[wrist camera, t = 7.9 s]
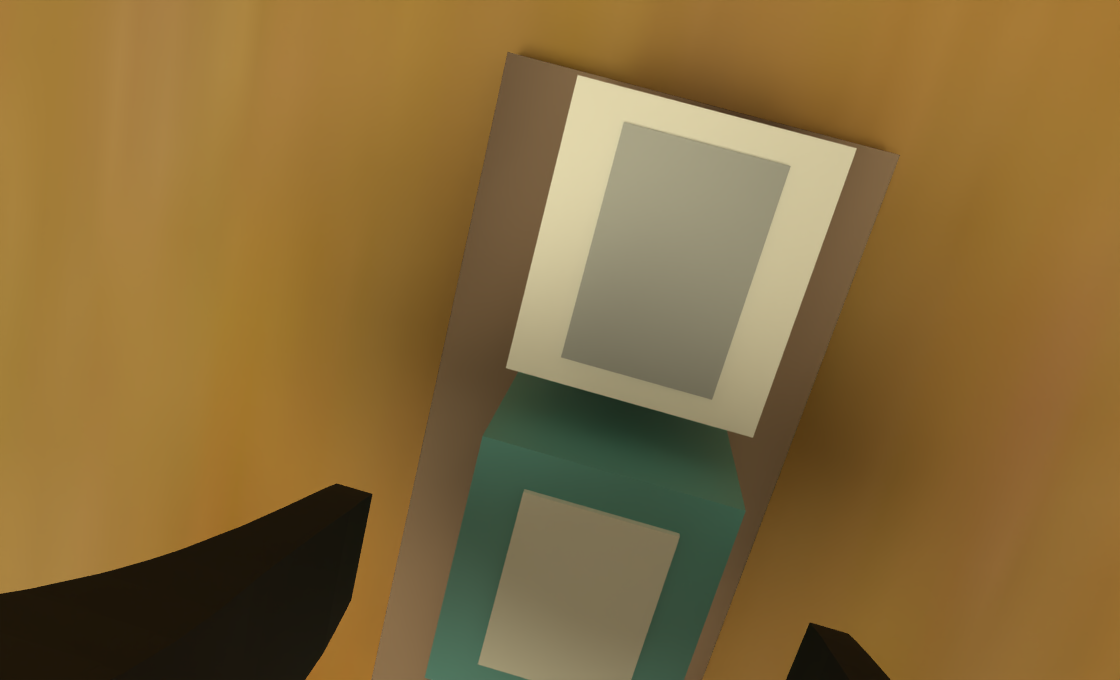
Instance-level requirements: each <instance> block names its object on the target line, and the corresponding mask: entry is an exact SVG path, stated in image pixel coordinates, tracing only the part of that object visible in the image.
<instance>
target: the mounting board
mask: <svg viewBox="0 0 1120 680" xmlns="http://www.w3.org/2000/svg"><path fill="white" fill-rule="evenodd" d="M578 75H580V76H583V77H587V78H591V79H595V80H599V81H602V82H606V83H610V84H614V85H618V86H621V87H625V88H629V89H633V90H637V91H640V92H644V93H648V94H652V95H656V96H659V97H663V98H667V99H671V100H675V101H679V102H682V103H686V104H690V105H694V106H698V107H701V108H705V109H709V110H713V111H717V112H720V113H724V114H728V115H732V116H736V117H739V118H743V119H747V120H751V121H755V122H758V123H762V124H766V125H770V126H774V127H777V128H781V129H785V130H789V131H793V132H796V133H800V134H804V135H808V136H812V137H815V138H819V139H823V140H827V141H831V142H834V143H838V144H842V145H846V146H850V147H853V148H857V149H856V152H855V155H854V158H853V161H852V163H851V166H850V169H849V172H848V174H847V177H846V180H845V183H844V186H843V188H842V191H841V194H840V197H839V200H838V202H837V205H836V208H835V211H834V213H833V216H832V219H831V222H830V225H829V227H828V230H827V233H826V236H825V238H824V241H823V244H822V247H821V250H820V252H819V255H818V258H817V261H816V263H815V266H814V269H813V272H812V275H811V277H810V280H809V283H808V286H807V288H806V291H805V294H804V297H803V300H802V302H801V305H800V308H799V311H798V314H797V316H796V319H795V322H794V325H793V327H792V330H791V333H790V336H789V339H788V341H787V344H786V347H785V350H784V352H783V355H782V358H781V361H780V364H779V366H778V369H777V372H776V375H775V377H774V380H773V383H772V386H771V389H770V391H769V394H768V397H767V400H766V403H765V405H764V408H763V411H762V414H761V416H760V419H759V422H758V425H757V428H756V430H755V433H754V436H753V438H752V437H749V436H745V435H742V434H738V433H734V432H731V431H727V433H728V437H729V442H730V446H731V450H732V454H733V459H734V463H735V467H736V471H737V476H738V480H739V484H740V488H741V493H742V497H743V501H744V505H745V510H746V512H745V514H744V517H743V520H742V523H741V525H740V528H739V531H738V533H737V536H736V539H735V542H734V544H733V547H732V550H731V553H730V555H729V558H728V561H727V564H726V566H725V569H724V572H723V575H722V577H721V580H720V583H719V585H718V588H717V591H716V594H715V596H714V599H713V602H712V605H711V607H710V610H709V613H708V616H707V618H706V621H705V624H704V627H703V629H702V632H701V635H700V637H699V640H698V643H697V646H696V648H695V651H694V654H693V657H692V659H691V662H690V665H689V668H688V670H687V673H686V676H685V678H684V680H702V679H703V676H704V673H705V671H706V668H707V665H708V663H709V660H710V657H711V655H712V652H713V649H714V647H715V644H716V641H717V639H718V636H719V633H720V631H721V628H722V625H723V623H724V620H725V618H726V615H727V612H728V610H729V607H730V604H731V602H732V599H733V596H734V594H735V591H736V588H737V586H738V583H739V580H740V578H741V575H742V572H743V570H744V567H745V565H746V562H747V559H748V557H749V554H750V551H751V549H752V546H753V543H754V541H755V538H756V535H757V533H758V530H759V527H760V525H761V522H762V519H763V517H764V514H765V511H766V509H767V506H768V504H769V501H770V498H771V496H772V493H773V490H774V488H775V485H776V482H777V480H778V477H779V474H780V472H781V469H782V466H783V464H784V461H785V458H786V456H787V453H788V451H789V448H790V445H791V443H792V440H793V437H794V435H795V432H796V429H797V427H798V424H799V421H800V419H801V416H802V413H803V411H804V408H805V405H806V403H807V400H808V397H809V395H810V392H811V390H812V387H813V384H814V382H815V379H816V376H817V374H818V371H819V368H820V366H821V363H822V360H823V358H824V355H825V352H826V350H827V347H828V344H829V342H830V339H831V336H832V334H833V331H834V329H835V326H836V323H837V321H838V318H839V315H840V313H841V310H842V307H843V305H844V302H845V299H846V297H847V294H848V291H849V289H850V286H851V283H852V281H853V278H854V276H855V273H856V270H857V268H858V265H859V262H860V260H861V257H862V254H863V252H864V249H865V246H866V244H867V241H868V238H869V236H870V233H871V230H872V228H873V225H874V222H875V220H876V217H877V215H878V212H879V209H880V207H881V204H882V201H883V199H884V196H885V193H886V191H887V188H888V185H889V183H890V180H891V177H892V175H893V172H894V169H895V167H896V164H897V162H898V159H899V156H900V155H898V154H894V153H890V152H886V151H883V150H879V149H875V148H871V147H867V146H864V145H860V144H856V143H852V142H848V141H845V140H841V139H837V138H833V137H829V136H826V135H822V134H818V133H814V132H810V131H807V130H803V129H799V128H795V127H791V126H787V125H784V124H780V123H776V122H772V121H768V120H765V119H761V118H757V117H753V116H749V115H746V114H742V113H738V112H734V111H730V110H727V109H723V108H719V107H715V106H711V105H708V104H704V103H700V102H696V101H692V100H688V99H685V98H681V97H677V96H673V95H669V94H666V93H662V92H658V91H654V90H650V89H647V88H643V87H639V86H635V85H631V84H628V83H624V82H620V81H616V80H612V79H609V78H605V77H601V76H597V75H593V74H589V73H586V72H582V71H578V70H574V69H570V68H567V67H563V66H559V65H555V64H551V63H548V62H544V61H540V60H536V59H532V58H529V57H525V56H521V55H517V54H513V53H510V52H508V53H507V58H506V63H505V67H504V72H503V76H502V81H501V86H500V90H499V95H498V99H497V104H496V109H495V113H494V118H493V122H492V127H491V132H490V136H489V141H488V146H487V150H486V155H485V159H484V164H483V169H482V173H481V178H480V182H479V187H478V192H477V196H476V201H475V205H474V210H473V215H472V219H471V224H470V228H469V233H468V238H467V242H466V247H465V251H464V256H463V261H462V265H461V270H460V275H459V279H458V284H457V288H456V293H455V298H454V302H453V307H452V311H451V316H450V321H449V325H448V330H447V334H446V339H445V344H444V348H443V353H442V357H441V362H440V367H439V371H438V376H437V380H436V385H435V390H434V394H433V399H432V404H431V408H430V413H429V417H428V422H427V427H426V431H425V436H424V440H423V445H422V450H421V454H420V459H419V463H418V468H417V473H416V477H415V482H414V486H413V491H412V496H411V500H410V505H409V509H408V514H407V519H406V523H405V528H404V533H403V537H402V542H401V546H400V551H399V556H398V560H397V565H396V569H395V574H394V579H393V583H392V588H391V592H390V597H389V602H388V606H387V611H386V615H385V620H384V625H383V629H382V634H381V638H380V643H379V648H378V652H377V657H376V662H375V666H374V671H373V675H372V680H430V679H427V678H425V674H426V670H427V666H428V661H429V657H430V653H431V649H432V645H433V641H434V636H435V632H436V628H437V624H438V620H439V616H440V611H441V607H442V603H443V599H444V595H445V591H446V586H447V582H448V578H449V574H450V570H451V565H452V561H453V557H454V553H455V549H456V545H457V540H458V536H459V532H460V528H461V524H462V520H463V515H464V511H465V507H466V503H467V499H468V495H469V490H470V486H471V482H472V478H473V474H474V470H475V465H476V461H477V457H478V453H479V449H480V445H481V440H482V436H483V434H484V432H485V431H486V429H487V427H488V425H489V423H490V422H491V420H492V418H493V416H494V414H495V413H496V411H497V409H498V407H499V405H500V404H501V402H502V400H503V398H504V397H505V395H506V393H507V391H508V389H509V388H510V386H511V384H512V382H513V380H514V379H515V377H516V375H517V373H518V371H515V370H511V369H508V368H506V365H507V361H508V357H509V353H510V349H511V345H512V341H513V337H514V333H515V329H516V324H517V320H518V316H519V312H520V308H521V304H522V300H523V296H524V292H525V288H526V284H527V280H528V276H529V271H530V267H531V263H532V259H533V255H534V251H535V247H536V243H537V239H538V235H539V231H540V227H541V222H542V218H543V214H544V210H545V206H546V202H547V198H548V194H549V190H550V186H551V182H552V178H553V174H554V169H555V165H556V161H557V157H558V153H559V149H560V145H561V141H562V137H563V133H564V129H565V125H566V120H567V116H568V112H569V108H570V104H571V100H572V96H573V92H574V88H575V84H576V80H577V76H578Z"/></svg>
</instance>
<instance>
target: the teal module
mask: <svg viewBox="0 0 1120 680" xmlns="http://www.w3.org/2000/svg"><path fill="white" fill-rule="evenodd" d="M745 512H746V510H745V505H744V501H743V497H742V493H741V488H740V484H739V480H738V476H737V471H736V467H735V463H734V459H733V454H732V450H731V446H730V442H729V437H728V433H727V430H724V429H720V428H717V427H713V426H710V425H706V424H703V423H699V422H695V421H692V420H688V419H685V418H681V417H678V416H674V415H671V414H667V413H664V412H660V411H656V410H653V409H649V408H646V407H642V406H639V405H635V404H632V403H628V402H625V401H621V400H617V399H614V398H610V397H607V396H603V395H600V394H596V393H593V392H589V391H586V390H582V389H578V388H575V387H571V386H568V385H564V384H561V383H557V382H554V381H550V380H547V379H543V378H539V377H536V376H532V375H529V374H525V373H522V372H518V373H517V375H516V377H515V379H514V380H513V382H512V384H511V386H510V388H509V389H508V391H507V393H506V395H505V397H504V398H503V400H502V402H501V404H500V405H499V407H498V409H497V411H496V413H495V414H494V416H493V418H492V420H491V422H490V423H489V425H488V427H487V429H486V431H485V432H484V434H483V436H482V440H481V445H480V449H479V453H478V457H477V461H476V465H475V470H474V474H473V478H472V482H471V486H470V490H469V495H468V499H467V503H466V507H465V511H464V515H463V520H462V524H461V528H460V532H459V536H458V540H457V545H456V549H455V553H454V557H453V561H452V565H451V570H450V574H449V578H448V582H447V586H446V591H445V595H444V599H443V603H442V607H441V611H440V616H439V620H438V624H437V628H436V632H435V636H434V641H433V645H432V649H431V653H430V657H429V661H428V666H427V670H426V674H425V678H427V679H430V680H684V678H685V676H686V673H687V670H688V668H689V665H690V662H691V659H692V657H693V654H694V651H695V648H696V646H697V643H698V640H699V637H700V635H701V632H702V629H703V627H704V624H705V621H706V618H707V616H708V613H709V610H710V607H711V605H712V602H713V599H714V596H715V594H716V591H717V588H718V585H719V583H720V580H721V577H722V575H723V572H724V569H725V566H726V564H727V561H728V558H729V555H730V553H731V550H732V547H733V544H734V542H735V539H736V536H737V533H738V531H739V528H740V525H741V523H742V520H743V517H744V514H745Z"/></svg>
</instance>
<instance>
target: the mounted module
mask: <svg viewBox="0 0 1120 680" xmlns="http://www.w3.org/2000/svg"><path fill="white" fill-rule="evenodd" d="M856 149H857V148H853V147H850V146H846V145H842V144H838V143H834V142H831V141H827V140H823V139H819V138H815V137H812V136H808V135H804V134H800V133H796V132H793V131H789V130H785V129H781V128H777V127H774V126H770V125H766V124H762V123H758V122H755V121H751V120H747V119H743V118H739V117H736V116H732V115H728V114H724V113H720V112H717V111H713V110H709V109H705V108H701V107H698V106H694V105H690V104H686V103H682V102H679V101H675V100H671V99H667V98H663V97H659V96H656V95H652V94H648V93H644V92H640V91H637V90H633V89H629V88H625V87H621V86H618V85H614V84H610V83H606V82H602V81H599V80H595V79H591V78H587V77H583V76H580V75H578V76H577V80H576V84H575V88H574V92H573V96H572V100H571V104H570V108H569V112H568V116H567V120H566V125H565V129H564V133H563V137H562V141H561V145H560V149H559V153H558V157H557V161H556V165H555V169H554V174H553V178H552V182H551V186H550V190H549V194H548V198H547V202H546V206H545V210H544V214H543V218H542V222H541V227H540V231H539V235H538V239H537V243H536V247H535V251H534V255H533V259H532V263H531V267H530V271H529V276H528V280H527V284H526V288H525V292H524V296H523V300H522V304H521V308H520V312H519V316H518V320H517V324H516V329H515V333H514V337H513V341H512V345H511V349H510V353H509V357H508V361H507V365H506V368H508V369H511V370H515V371H518V372H522V373H525V374H529V375H532V376H536V377H539V378H543V379H547V380H550V381H554V382H557V383H561V384H564V385H568V386H571V387H575V388H578V389H582V390H586V391H589V392H593V393H596V394H600V395H603V396H607V397H610V398H614V399H617V400H621V401H625V402H628V403H632V404H635V405H639V406H642V407H646V408H649V409H653V410H656V411H660V412H664V413H667V414H671V415H674V416H678V417H681V418H685V419H688V420H692V421H695V422H699V423H703V424H706V425H710V426H713V427H717V428H720V429H724V430H727V431H731V432H734V433H738V434H742V435H745V436H749V437H752V438H753V436H754V433H755V430H756V428H757V425H758V422H759V419H760V416H761V414H762V411H763V408H764V405H765V403H766V400H767V397H768V394H769V391H770V389H771V386H772V383H773V380H774V377H775V375H776V372H777V369H778V366H779V364H780V361H781V358H782V355H783V352H784V350H785V347H786V344H787V341H788V339H789V336H790V333H791V330H792V327H793V325H794V322H795V319H796V316H797V314H798V311H799V308H800V305H801V302H802V300H803V297H804V294H805V291H806V288H807V286H808V283H809V280H810V277H811V275H812V272H813V269H814V266H815V263H816V261H817V258H818V255H819V252H820V250H821V247H822V244H823V241H824V238H825V236H826V233H827V230H828V227H829V225H830V222H831V219H832V216H833V213H834V211H835V208H836V205H837V202H838V200H839V197H840V194H841V191H842V188H843V186H844V183H845V180H846V177H847V174H848V172H849V169H850V166H851V163H852V161H853V158H854V155H855V152H856Z"/></svg>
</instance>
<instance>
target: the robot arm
mask: <svg viewBox="0 0 1120 680" xmlns="http://www.w3.org/2000/svg"><path fill="white" fill-rule="evenodd" d="M371 498H372V494H371V493H367V492H364V491H360V490H357V489H354V488H350V487H347V486H343V485H340V484H334V485H332V486H329V487H327V488H325V489H322V490H320V491H318V492H316V493H314V494H312V495H309V496H307V497H305V498H303V499H301V500H299V501H297V502H294V503H292V504H290V505H288V506H286V507H284V508H281V509H279V510H277V511H275V512H272V513H270V514H268V515H266V516H263V517H261V518H259V519H257V520H254V521H252V522H250V523H248V524H245V525H243V526H241V527H238V528H236V529H233V530H231V531H228V532H225V533H223V534H220V535H218V536H215V537H212V538H210V539H207V540H205V541H202V542H200V543H197V544H194V545H192V546H189V547H187V548H184V549H181V550H178V551H175V552H172V553H169V554H166V555H163V556H160V557H157V558H154V559H151V560H147V561H144V562H140V563H137V564H133V565H130V566H126V567H123V568H120V569H116V570H112V571H108V572H105V573H101V574H96V575H91V576H87V577H82V578H78V579H73V580H69V581H64V582H59V583H55V584H50V585H46V586H41V587H37V588H32V589H26V590H21V591H15V592H9V593H3V594H0V680H305V679H306V678H307V676H308V675H309V673H310V672H311V670H312V669H313V667H314V666H315V665H316V663H317V662H318V660H319V659H320V657H321V656H322V654H323V652H324V651H325V649H326V647H327V645H328V643H329V641H330V639H331V638H332V636H333V634H334V632H335V630H336V628H337V626H338V624H339V622H340V621H341V619H342V617H343V615H344V613H345V611H346V609H347V607H348V605H349V603H350V601H351V598H352V593H353V588H354V583H355V578H356V573H357V568H358V563H359V558H360V553H361V548H362V543H363V538H364V533H365V528H366V523H367V518H368V513H369V508H370V503H371ZM786 680H890V679H889V677H888V676H887V675H886V674H885V673H884V672H883V671H882V669H881V668H880V667H879V666H878V665H877V664H876V663H875V661H874V660H873V659H872V658H871V657H870V656H869V655H868V654H867V652H866V651H865V650H864V649H863V648H862V647H861V646H860V645H859V644H858V643H857V642H856V641H855V640H854V639H853V638H852V637H851V636H850V635H849V634H847V633H844V632H841V631H837V630H834V629H830V628H827V627H824V626H820V625H817V624H813V623H809V626H808V628H807V631H806V633H805V635H804V638H803V640H802V643H801V645H800V648H799V650H798V652H797V655H796V657H795V660H794V662H793V664H792V667H791V669H790V672H789V674H788V676H787V679H786Z"/></svg>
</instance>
